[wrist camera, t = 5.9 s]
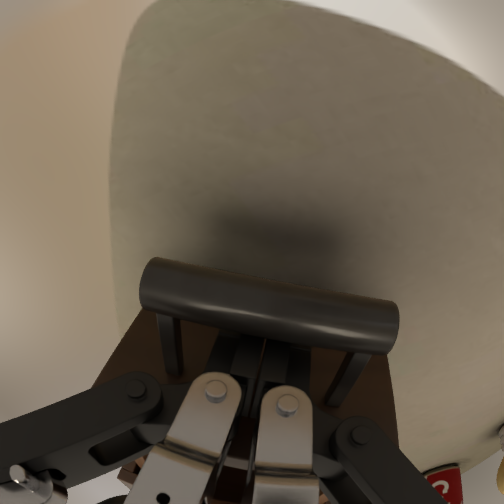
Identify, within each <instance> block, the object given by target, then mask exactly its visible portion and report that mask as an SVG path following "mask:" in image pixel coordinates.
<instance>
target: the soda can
mask: <svg viewBox="0 0 504 504" xmlns="http://www.w3.org/2000/svg"><path fill="white" fill-rule="evenodd" d="M423 476H424V477H425V478H426V479H427V481H428V482H429V483H430V484H431V485H432V486H433V487H434V488H435V489H436V490H437V492H438V493H439V494H440V495H441V496H442V497H443V498H444V499H445V500H446V501H447V502H448V504H463V495H462V484H461V475H460V468H459V467H455V466H452V465H449V466H443V467H440V468H436V469H434V470H431V471H429V472H427V473H425V474H423Z"/></svg>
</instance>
